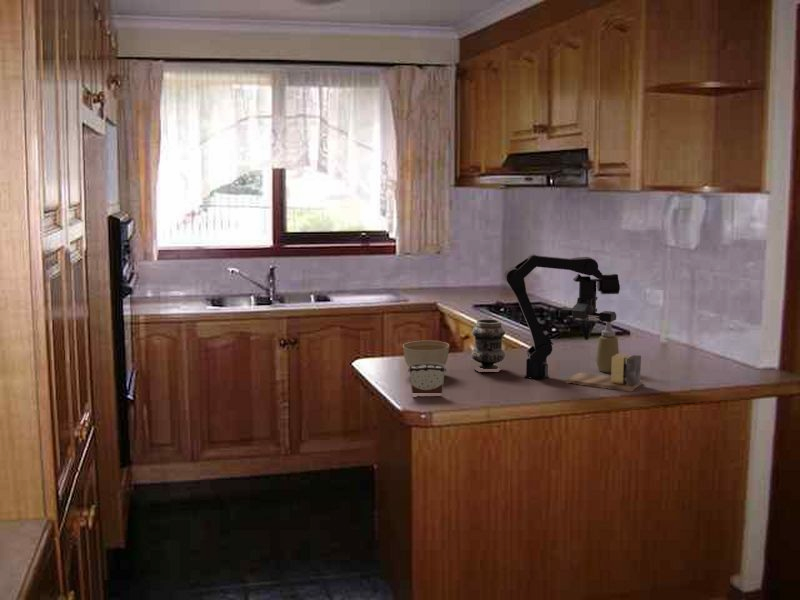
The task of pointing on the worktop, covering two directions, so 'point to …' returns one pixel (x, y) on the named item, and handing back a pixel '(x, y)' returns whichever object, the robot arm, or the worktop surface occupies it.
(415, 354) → the planter bowl
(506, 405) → the worktop surface
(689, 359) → the worktop surface
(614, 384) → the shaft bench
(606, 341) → the squeeze bottle
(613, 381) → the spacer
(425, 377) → the food container
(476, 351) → the apothecary jar
